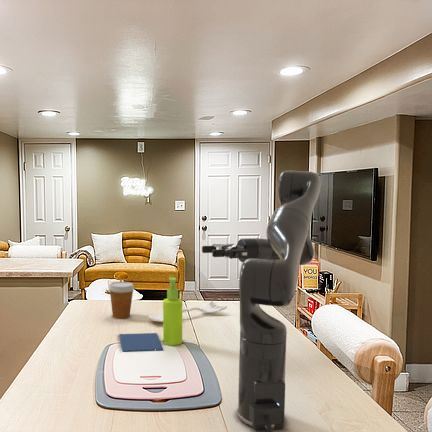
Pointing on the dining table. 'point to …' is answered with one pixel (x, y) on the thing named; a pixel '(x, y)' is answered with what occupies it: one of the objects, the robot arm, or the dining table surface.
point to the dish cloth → (140, 342)
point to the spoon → (206, 309)
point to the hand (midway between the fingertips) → (207, 251)
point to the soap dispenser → (172, 316)
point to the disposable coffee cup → (121, 298)
